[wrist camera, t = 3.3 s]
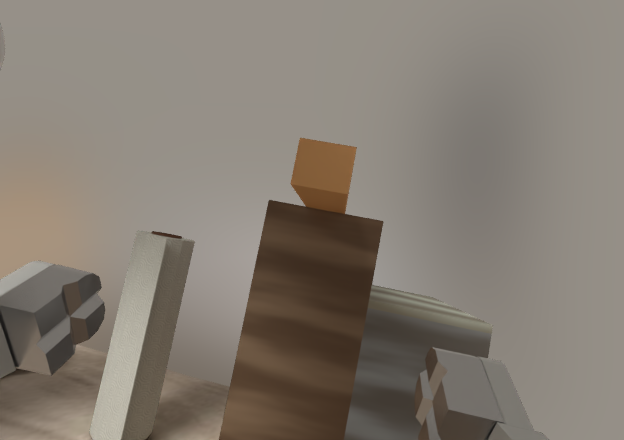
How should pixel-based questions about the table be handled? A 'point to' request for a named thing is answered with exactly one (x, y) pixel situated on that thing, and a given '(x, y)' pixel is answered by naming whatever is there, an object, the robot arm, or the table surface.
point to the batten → (323, 174)
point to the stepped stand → (333, 336)
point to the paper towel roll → (142, 337)
